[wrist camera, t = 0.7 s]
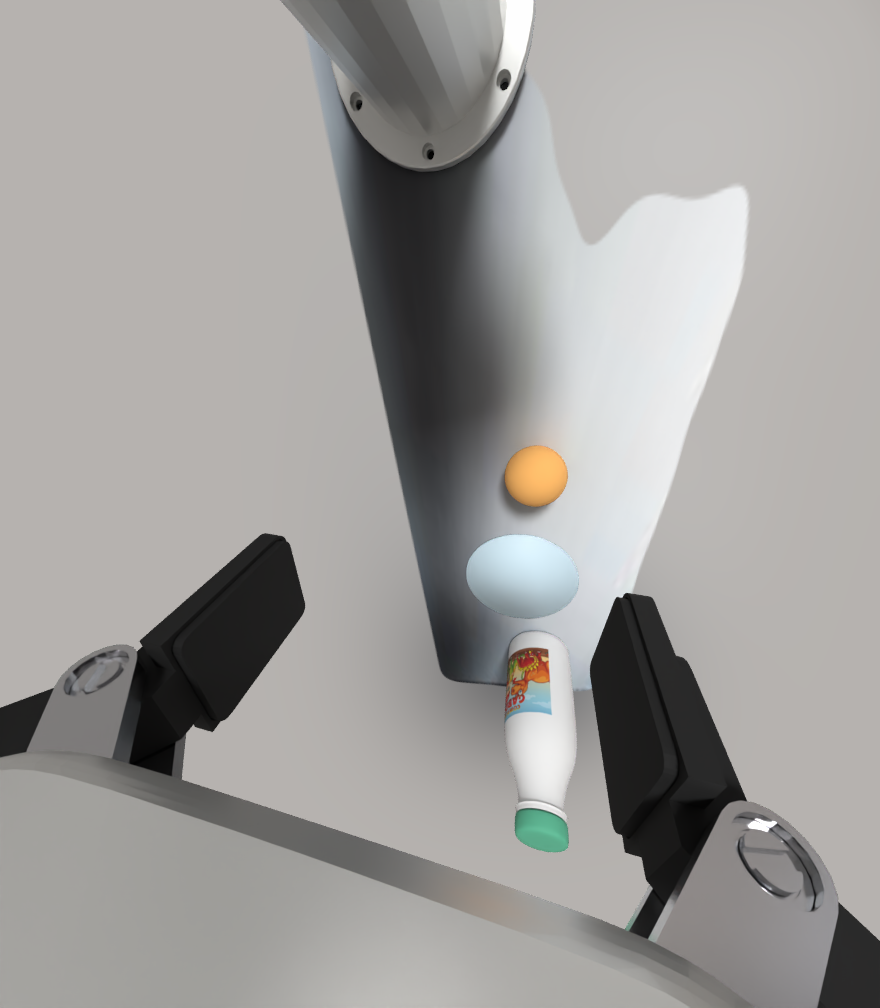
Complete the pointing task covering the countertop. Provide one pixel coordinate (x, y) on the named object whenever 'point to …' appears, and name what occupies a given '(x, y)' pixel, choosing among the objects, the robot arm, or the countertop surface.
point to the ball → (536, 476)
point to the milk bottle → (540, 737)
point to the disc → (522, 576)
